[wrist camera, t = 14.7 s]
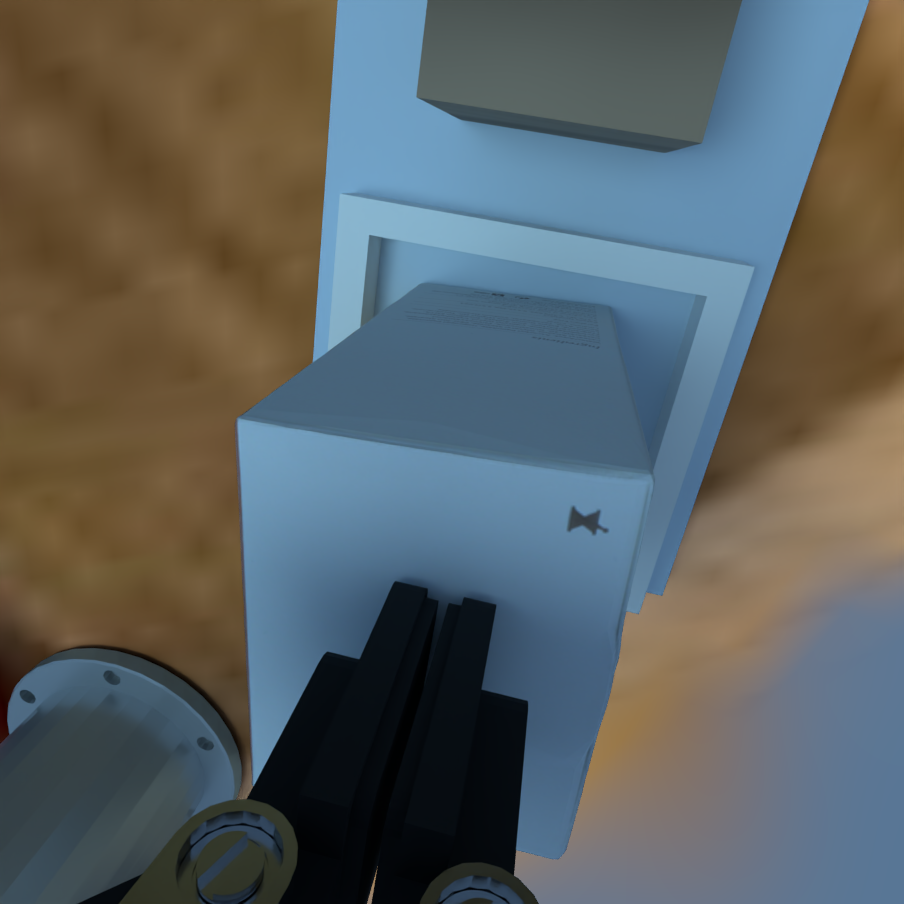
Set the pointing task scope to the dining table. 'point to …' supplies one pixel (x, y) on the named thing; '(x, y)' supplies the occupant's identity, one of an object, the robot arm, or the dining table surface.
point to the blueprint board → (586, 218)
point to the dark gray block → (580, 66)
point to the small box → (453, 513)
